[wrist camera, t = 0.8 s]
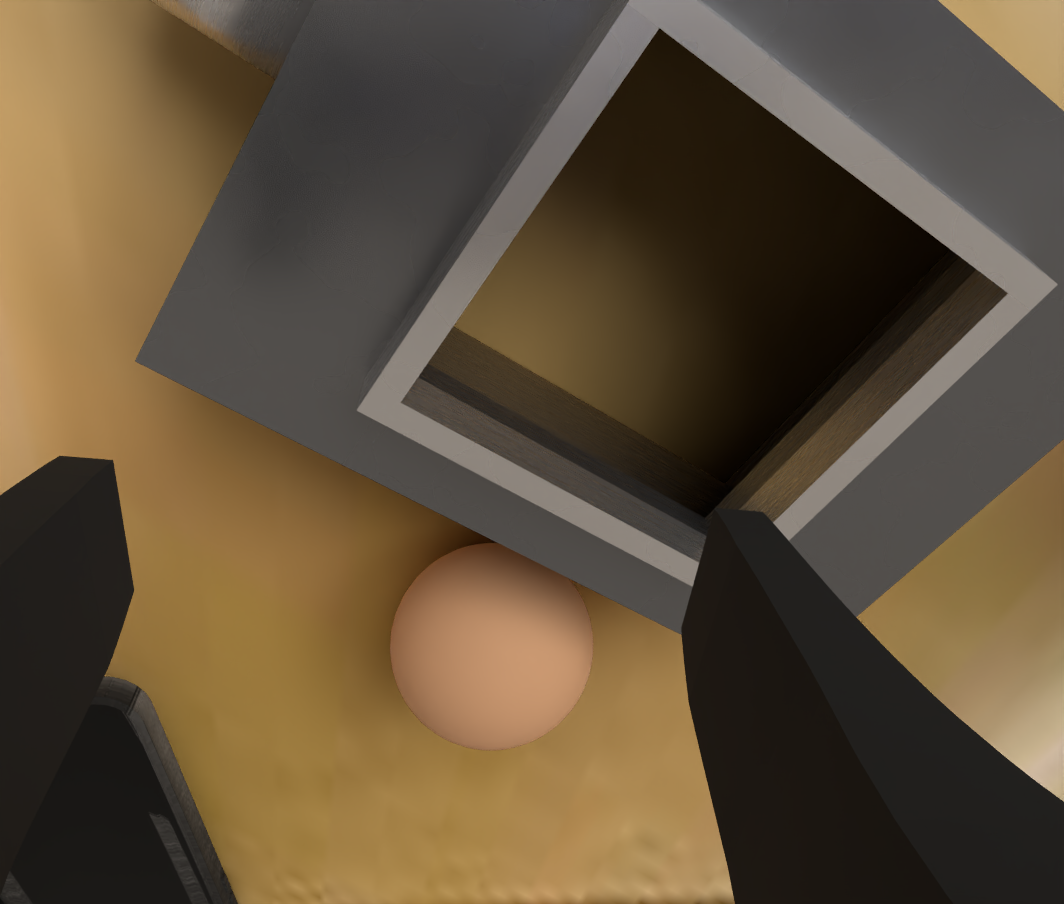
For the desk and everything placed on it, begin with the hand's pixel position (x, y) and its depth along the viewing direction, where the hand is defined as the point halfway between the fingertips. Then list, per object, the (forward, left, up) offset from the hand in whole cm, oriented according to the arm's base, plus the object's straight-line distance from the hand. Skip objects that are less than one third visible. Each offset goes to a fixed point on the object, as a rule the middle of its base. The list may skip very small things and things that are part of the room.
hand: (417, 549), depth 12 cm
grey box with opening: (-1, -3, -10) cm, 11 cm away
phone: (-1, +25, -11) cm, 27 cm away
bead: (-6, +8, -8) cm, 12 cm away
